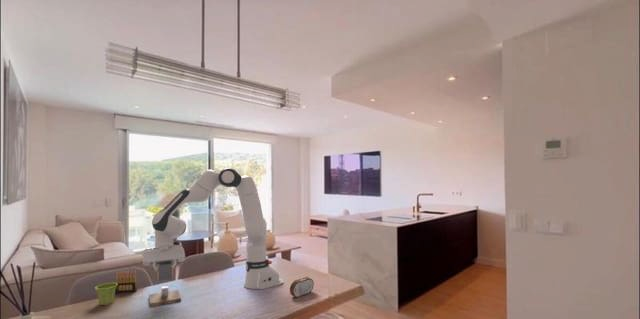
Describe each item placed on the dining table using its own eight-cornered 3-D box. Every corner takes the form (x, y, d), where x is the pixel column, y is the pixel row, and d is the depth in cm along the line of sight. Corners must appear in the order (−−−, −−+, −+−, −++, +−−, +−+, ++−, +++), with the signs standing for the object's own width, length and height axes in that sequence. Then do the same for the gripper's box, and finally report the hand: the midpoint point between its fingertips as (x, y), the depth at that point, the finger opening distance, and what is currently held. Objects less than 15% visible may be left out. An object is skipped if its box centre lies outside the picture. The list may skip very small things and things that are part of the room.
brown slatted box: (136, 290, 182) (137, 268, 182) (135, 291, 180) (135, 269, 180) (116, 291, 180) (116, 269, 181) (114, 293, 178) (115, 270, 179)
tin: (310, 290, 179) (310, 275, 179) (314, 292, 176) (314, 276, 177) (289, 298, 168) (289, 281, 168) (293, 299, 166) (293, 282, 166)
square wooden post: (167, 294, 170) (167, 286, 170) (168, 296, 167) (168, 287, 168) (161, 296, 169) (161, 287, 169) (161, 297, 166) (161, 288, 166)
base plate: (178, 292, 177) (178, 289, 178) (180, 301, 165) (180, 298, 165) (149, 297, 171) (149, 294, 171) (149, 306, 158) (149, 303, 159)
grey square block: (170, 275, 173) (170, 261, 173) (171, 279, 167) (171, 264, 168) (157, 277, 170) (158, 262, 170) (158, 280, 164) (158, 265, 165)
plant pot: (92, 303, 163) (93, 286, 164) (114, 298, 170) (114, 281, 171) (97, 308, 157) (98, 290, 158) (119, 302, 164) (120, 285, 164)
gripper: (142, 245, 170) (142, 269, 161) (184, 242, 180) (186, 264, 171) (142, 252, 174) (141, 276, 165) (183, 248, 184) (185, 270, 175)
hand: (164, 270), depth 168 cm, fingers closed on grey square block, 6 cm apart
